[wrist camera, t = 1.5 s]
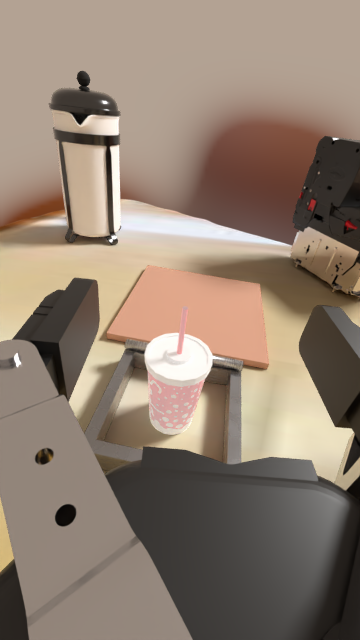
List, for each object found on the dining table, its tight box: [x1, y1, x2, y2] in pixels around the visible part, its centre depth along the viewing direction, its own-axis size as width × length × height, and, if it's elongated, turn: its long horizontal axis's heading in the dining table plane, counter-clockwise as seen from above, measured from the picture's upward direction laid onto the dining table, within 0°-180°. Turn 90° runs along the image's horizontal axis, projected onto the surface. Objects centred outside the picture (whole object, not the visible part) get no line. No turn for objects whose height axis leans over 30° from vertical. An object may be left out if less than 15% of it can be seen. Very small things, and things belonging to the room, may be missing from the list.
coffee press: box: [49, 71, 121, 245], centre depth 61 cm, size 17×16×30 cm
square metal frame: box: [84, 339, 243, 471], centre depth 30 cm, size 14×14×4 cm
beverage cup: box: [144, 306, 213, 435], centre depth 27 cm, size 6×6×14 cm
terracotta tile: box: [107, 265, 269, 369], centre depth 48 cm, size 22×22×1 cm
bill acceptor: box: [290, 136, 360, 298], centre depth 56 cm, size 10×23×25 cm, turn 23°
